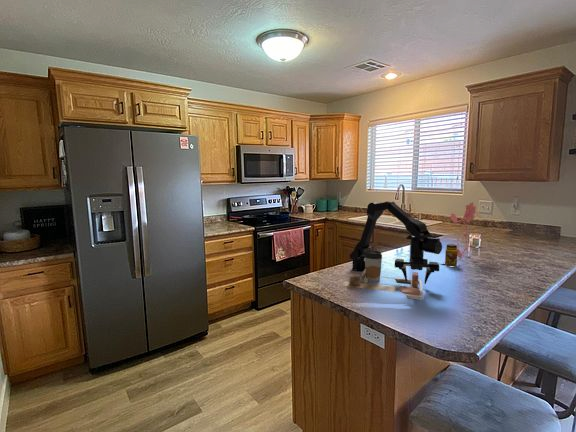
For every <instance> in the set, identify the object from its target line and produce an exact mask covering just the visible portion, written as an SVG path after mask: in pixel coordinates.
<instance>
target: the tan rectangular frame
mask: <svg viewBox="0 0 576 432" xmlns="http://www.w3.org/2000/svg"><path fill="white" fill-rule="evenodd" d="M411 275H412V276H411V279H412V280H409V278H407V282H406V280H405V278H402V279H399V278H400V277H392V279H393V280H395V282H402V283H410V286H408V285H397V284H392V287H399V288H400V287H403V288H416V289H418V288H419V283H418V280H419V272H415V271H412V273H411ZM364 278H366V273H365V269H364V271H362V274H361V275H360V283H364ZM382 278H386V279H390V277H388V276H382ZM368 284H373V282H372V281H368ZM374 285H382V283H379V282H374ZM383 286H391V284H389V283H387V284H386V283H383Z"/></svg>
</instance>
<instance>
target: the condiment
mask: <svg viewBox="0 0 576 432" xmlns="http://www.w3.org/2000/svg"><path fill="white" fill-rule="evenodd" d="M457 249H458V244H453V243H451V244H446V248H445V259H444V260H445V261H444V263H445V265H447V266H446V267H448V266H457V265H458V256H457V253H458V251H457ZM445 265H444V266H445ZM457 267H458V266H457Z"/></svg>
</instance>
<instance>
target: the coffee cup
mask: <svg viewBox="0 0 576 432" xmlns="http://www.w3.org/2000/svg"><path fill="white" fill-rule="evenodd" d="M364 257H365V269H364V270H365V273H366V277H365V278H368V282H372V283H377V282H379V281H380V280H381V272H382V271H381V270H382V259H383V254H382V252H381V251H379V250H371V251H366V253H365V256H364Z"/></svg>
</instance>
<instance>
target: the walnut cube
mask: <svg viewBox="0 0 576 432" xmlns="http://www.w3.org/2000/svg"><path fill="white" fill-rule="evenodd" d="M348 282H349V283H350V286H359V287H360V283H361V275H360V273H349V281H348ZM350 286H349V287H350Z"/></svg>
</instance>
